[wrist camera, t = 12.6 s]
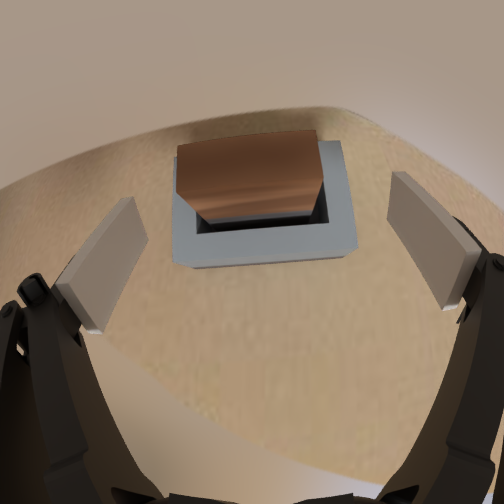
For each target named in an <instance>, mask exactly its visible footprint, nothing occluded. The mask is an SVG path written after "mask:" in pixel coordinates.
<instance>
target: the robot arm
mask: <svg viewBox="0 0 504 504" xmlns="http://www.w3.org/2000/svg"><path fill="white" fill-rule="evenodd" d="M387 220H388V222H389V223H390V225H391V226H392V228H393V229H394V231H395V232H396V234H397V235H398V237H399V238H400V240H401V241H402V243H403V244H404V246H405V247H406V249H407V250H408V252H409V254H410V255H411V257H412V259H413V260H414V262H415V263H416V265H417V267H418V268H419V270H420V272H421V273H422V275H423V277H424V279H425V280H426V282H427V284H428V286H429V287H430V289H431V291H432V293H433V295H434V297H435V298H436V300H437V302H438V304H439V306H440V308H441V310H442V311H445V310H449V309H454V308H457V306H458V304H459V302H460V300H461V298H462V296H463V298H464V299H465V301H466V305H465V307H464V309H463V311H462V313H461V315H460V317H459V319H458V320H457V322H456V323H457V324H459V322H460V326H459V329H458V333H457V337H456V341H455V344H454V348H453V351H452V354H451V357H450V361H449V364H448V367H447V370H446V372H445V375H444V378H443V381H442V384H441V386H440V389H439V391H438V394H437V396H436V399H435V401H434V404H433V406H432V408H431V411H430V413H429V415H428V417H427V419H426V422H425V424H424V426H423V428H422V430H421V432H420V434H419V436H418V438H417V440H416V442H415V444H414V446H413V447H412V449H411V451H410V453H409V455H408V456H407V458H406V460H405V462H404V463H403V465H402V466H401V467H400V469H399V470H398V471H397V472H396V473H395V474H394V475H393V476H392V477H391V478H390V480H389V481H388V482H387V484H386V485H385V486H384V488H383V489H382V491H381V492H380V493H379V495H378V496H377V498H376V499H371V498H366V497H359V496H353V493H350V494H345V495H339V496H333V497H325V498H317V499H308V500H304V501H301V502H298V503H294V504H482V503H483V501H484V498H485V496H486V494H487V492H488V490H489V487H490V485H491V483H492V480H493V477H494V474H495V464H494V463H493V462H492V461H491V460H490V454H491V450H492V448H493V445H494V442H495V438H496V435H497V432H498V428H499V425H500V421H501V417H502V414H503V409H504V256H502V255H500V254H496V253H491V254H490V253H489V252H488V251H487V249H486V248H485V247H484V246H483V245H482V243H481V242H480V241H479V240H478V239H477V238H476V237H475V236H474V234H473V233H472V232H471V231H470V230H469V229H468V228H467V227H466V225H465V224H464V223H463V222H461V221H460V220H458V219H457V218H455V217H454V216H451V215H450V214H449V212H448V211H447V210H446V209H445V208H444V207H443V206H442V205H441V204H440V203H439V202H438V201H437V200H436V199H435V198H433V197H432V196H431V195H430V194H429V193H428V192H427V191H426V190H425V189H424V188H423V187H422V186H421V185H420V184H419V183H417V182H416V181H415V180H414V179H413V178H412V177H411V176H410V175H408V174H407V173H406V172H392V179H391V189H390V198H389V207H388V214H387ZM147 242H148V237H147V234H146V232H145V229H144V226H143V223H142V220H141V218H140V215H139V212H138V209H137V206H136V203H135V200H134V197H133V196H132V197H127V198H122V199H121V200H120V201H119V202H118V203H117V204H116V205H115V206H114V207H113V209H112V210H111V211H110V212H109V213H108V214H107V216H106V217H105V218H104V219H103V220H102V222H101V223H100V224H99V225H98V226H97V228H96V229H95V230H94V231H93V233H92V234H91V235H90V236H89V238H88V239H87V240H86V241H85V243H84V244H83V245H82V247H81V248H80V249H79V251H78V252H77V253H76V254H75V255H74V256H73V257H72V259H71V260H70V262H69V263H68V265H67V266H66V267H65V269H64V271H62V273H61V274H60V276H59V277H58V279H57V280H56V281H55V283H54V284H53V286H52V287H51V289H50V288H49V287H48V285H47V284H46V282H45V280H44V279H43V277H42V275H41V274H40V273H34V274H32V275H30V276H28V277H27V278H26V279H24V280H23V282H22V283H21V284H20V285H19V287H18V289H17V293H18V294H19V296H20V297H21V299H22V300H23V302H24V303H25V304H26V306H27V307H25V308H21V307H20V305H19V304H18V303H17V301H15V300H13V301H10V302H8V303H6V304H5V305H4V306H3V307H2V309H1V311H0V504H237V503H234V502H227V501H220V500H214V499H206V498H198V497H190V496H184V495H177V494H172V493H170V494H169V497H167V498H164V497H163V496H162V494H161V493H160V491H159V490H158V489H157V487H156V486H155V485H154V484H153V483H152V482H151V481H150V480H149V479H148V478H147V477H146V476H144V474H143V473H142V472H141V471H140V469H139V468H138V466H137V464H136V462H135V461H134V459H133V457H132V455H131V454H130V451H129V450H128V448H127V446H126V444H125V442H124V440H123V438H122V436H121V434H120V432H119V430H118V428H117V426H116V424H115V421H114V419H113V417H112V415H111V413H110V410H109V408H108V406H107V403H106V401H105V399H104V396H103V394H102V391H101V388H100V386H99V383H98V381H97V378H96V375H95V372H94V370H93V367H92V364H91V361H90V358H89V355H88V352H87V348H86V345H85V342H84V339H83V336H82V334H81V333H80V331H79V328H80V326H81V324H82V325H83V326H84V327H85V329H86V330H87V331H88V333H93V334H103V332H104V330H105V327H106V325H107V323H108V321H109V318H110V316H111V314H112V312H113V310H114V307H115V305H116V303H117V301H118V299H119V297H120V295H121V293H122V290H123V288H124V286H125V284H126V282H127V280H128V278H129V276H130V274H131V272H132V270H133V268H134V267H135V265H136V263H137V261H138V259H139V257H140V255H141V253H142V251H143V249H144V248H145V246H146V244H147ZM460 320H461V321H460ZM17 344H18V345H19V346H20V347H21V348H22V349H23V351H24V355H21V354H20V353H19V352H18V351H17ZM492 504H504V437H503V445H502V452H501V459H500V464H499V470H498V475H497V479H496V484H495V489H494V494H493V500H492Z"/></svg>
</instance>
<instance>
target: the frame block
mask: <svg viewBox="0 0 504 504" xmlns="http://www.w3.org/2000/svg"><path fill="white" fill-rule="evenodd" d="M318 146H319V152H320V157H321V163H322V169H323V175H324V178H323V181H322V184H321V187H320V190H319V193H318V196H317V199H316V202H315V205H314V208H313V211H312V214H311V217H310V220H309V222H308V225H297V226H285V227H272V228H260V229H248V230H237V231H226V232H217V231H216V230H215V229H214V228H213V227H212V226H211V225H210V224H209V223H208V222H207V221H206V220H204V219H203V218H202V217H201V216H200V215H199V214H198V213H197V212H196V211H195V210H194V209H193V208H192V207H191V206H190V205H189V204H188V203H187V202H186V201H184V200H183V199H182V198H181V197H180V196H179V195H178V194H177V193H176V168H177V157H174V171H173V206H172V249H173V262H174V263H177V264H180V265H184V266H187V267H191V268H194V269H204V268H218V267H232V266H246V265H260V264H273V263H286V262H298V261H311V260H323V259H335V258H343V257H344V256H346V255H348V254H349V253H351V252H352V251H354V250H356V249H357V248H358V241H357V233H356V226H355V219H354V212H353V205H352V199H351V193H350V187H349V182H348V176H347V171H346V166H345V161H344V156H343V152H342V147H341V143H340V141H318Z"/></svg>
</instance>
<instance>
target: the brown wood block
mask: <svg viewBox="0 0 504 504" xmlns="http://www.w3.org/2000/svg"><path fill="white" fill-rule="evenodd" d="M323 178H324V175H323V169H322V163H321V157H320V152H319V146H318V141H317V136H316V131H315V130H305V131H288V132H275V133H264V134H254V135H245V136H236V137H229V138H221V139H215V140H208V141H202V142H196V143H190V144H184V145H179V146H178V147H177V168H176V193H177V194H178V195H179V196H180V197H181V198H182V199H183V200H184V201H186V202H187V203H188V204H189V205H190V206H191V207H192V208H193V209H194V210H195V211H196V212H197V213H198V214H199V215H200V216H201V217H202V218H203V219H204V220H206V221H207V222H208V223H209V224H210V225H211V226H212V227H213V228H214V229H215V230H216V231H217V232H226V231H237V230H248V229H260V228H272V227H285V226H297V225H308V222H309V220H310V217H311V214H312V211H313V208H314V205H315V202H316V199H317V196H318V193H319V190H320V187H321V184H322V181H323Z"/></svg>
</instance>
